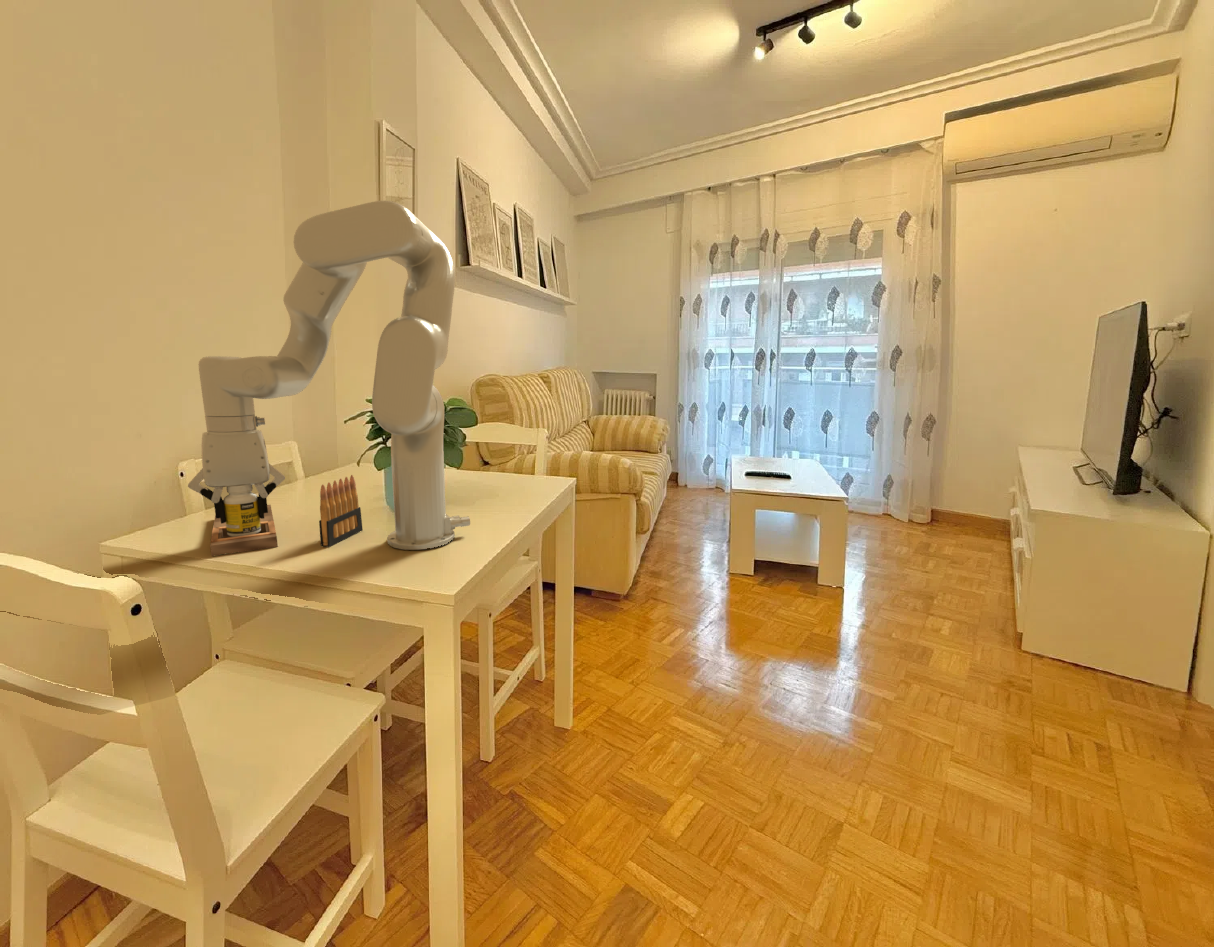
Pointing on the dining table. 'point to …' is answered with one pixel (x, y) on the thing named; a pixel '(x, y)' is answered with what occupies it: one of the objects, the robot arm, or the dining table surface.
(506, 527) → the dining table surface
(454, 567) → the dining table surface
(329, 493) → the ammunition clip
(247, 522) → the supplement bottle
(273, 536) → the hole rail
